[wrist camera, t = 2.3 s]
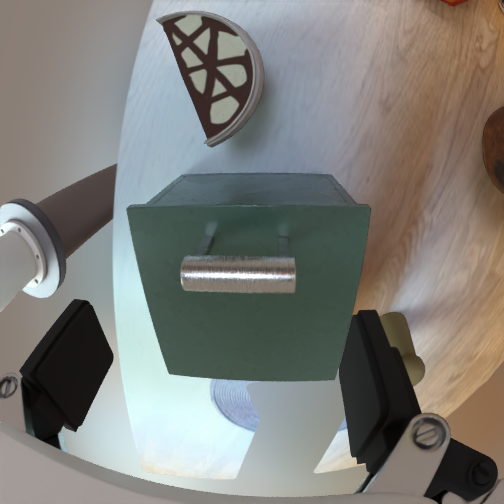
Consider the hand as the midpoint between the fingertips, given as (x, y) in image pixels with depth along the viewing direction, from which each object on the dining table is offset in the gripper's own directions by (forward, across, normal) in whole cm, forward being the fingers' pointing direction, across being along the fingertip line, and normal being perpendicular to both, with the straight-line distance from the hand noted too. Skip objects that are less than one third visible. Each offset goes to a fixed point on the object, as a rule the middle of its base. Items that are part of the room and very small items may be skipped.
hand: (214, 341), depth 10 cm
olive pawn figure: (+24, -20, +22) cm, 38 cm away
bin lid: (+11, 0, +7) cm, 13 cm away
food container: (+24, +2, -11) cm, 27 cm away
